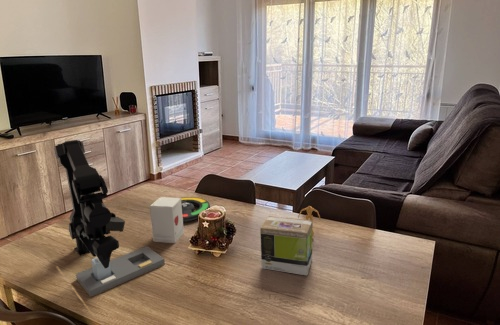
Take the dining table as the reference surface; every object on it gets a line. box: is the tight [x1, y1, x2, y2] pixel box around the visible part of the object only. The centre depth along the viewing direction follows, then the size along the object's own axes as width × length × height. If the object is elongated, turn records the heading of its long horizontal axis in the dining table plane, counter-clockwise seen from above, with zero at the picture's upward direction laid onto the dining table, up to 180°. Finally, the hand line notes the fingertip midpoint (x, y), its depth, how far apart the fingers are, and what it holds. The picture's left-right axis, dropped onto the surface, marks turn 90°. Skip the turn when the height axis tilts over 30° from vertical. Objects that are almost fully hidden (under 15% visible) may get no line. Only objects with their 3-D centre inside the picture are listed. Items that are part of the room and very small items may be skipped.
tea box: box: [259, 215, 314, 277], centre depth 115 cm, size 15×10×15 cm, turn 71°
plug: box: [90, 256, 112, 281], centre depth 110 cm, size 4×4×8 cm
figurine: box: [297, 205, 321, 238], centre depth 134 cm, size 8×6×12 cm
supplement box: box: [149, 196, 185, 244], centre depth 135 cm, size 9×9×15 cm
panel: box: [75, 245, 166, 298], centre depth 115 cm, size 12×24×3 cm, turn 133°
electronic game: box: [180, 196, 211, 223], centre depth 159 cm, size 23×23×5 cm
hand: (100, 261), depth 109 cm, fingers open, 9 cm apart
